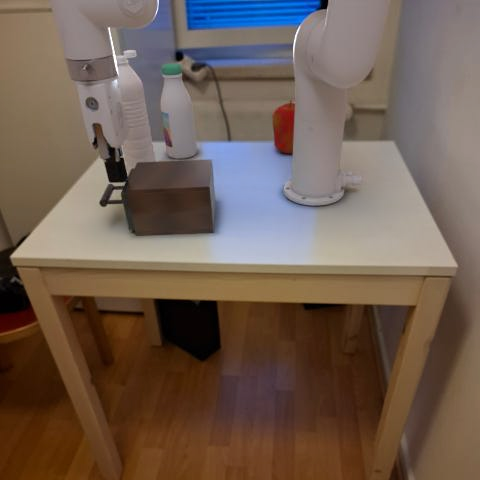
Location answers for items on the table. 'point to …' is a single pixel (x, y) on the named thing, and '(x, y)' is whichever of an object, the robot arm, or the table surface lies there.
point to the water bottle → (134, 114)
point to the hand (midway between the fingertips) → (118, 180)
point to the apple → (284, 127)
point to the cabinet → (172, 197)
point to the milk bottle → (177, 114)
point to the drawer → (124, 201)
